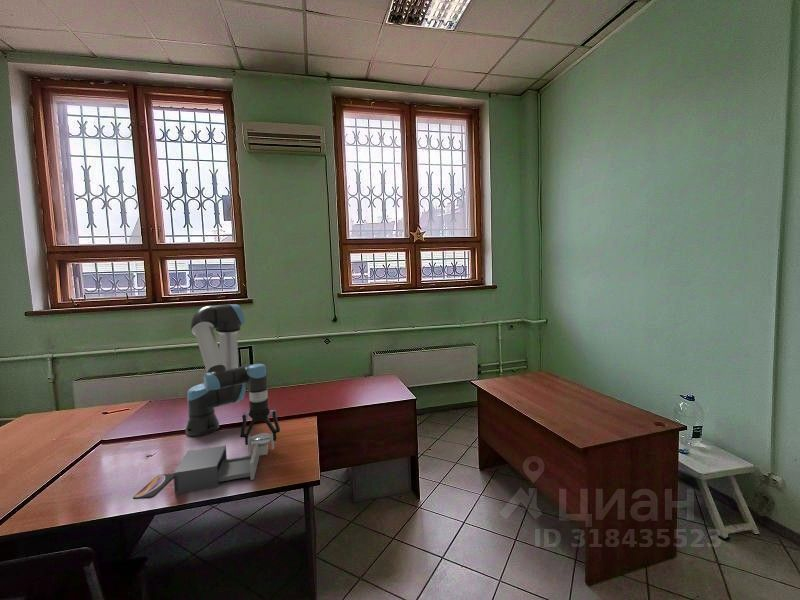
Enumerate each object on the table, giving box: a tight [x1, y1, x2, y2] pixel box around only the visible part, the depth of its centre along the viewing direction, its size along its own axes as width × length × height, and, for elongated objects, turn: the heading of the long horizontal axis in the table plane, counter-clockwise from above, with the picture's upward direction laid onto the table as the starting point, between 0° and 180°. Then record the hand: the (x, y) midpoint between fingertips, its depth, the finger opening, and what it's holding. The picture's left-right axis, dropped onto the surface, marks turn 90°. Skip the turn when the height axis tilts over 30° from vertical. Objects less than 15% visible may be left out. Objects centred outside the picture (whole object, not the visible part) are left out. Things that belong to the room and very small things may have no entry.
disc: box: [250, 432, 272, 447], centre depth 155 cm, size 9×9×2 cm
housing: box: [172, 444, 228, 495], centre depth 136 cm, size 17×14×8 cm
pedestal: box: [258, 443, 269, 457], centre depth 155 cm, size 5×5×5 cm
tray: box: [218, 443, 260, 483], centre depth 139 cm, size 17×14×7 cm
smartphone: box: [132, 473, 174, 500], centre depth 132 cm, size 8×1×15 cm
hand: (261, 449), depth 155 cm, fingers closed on disc, 9 cm apart
